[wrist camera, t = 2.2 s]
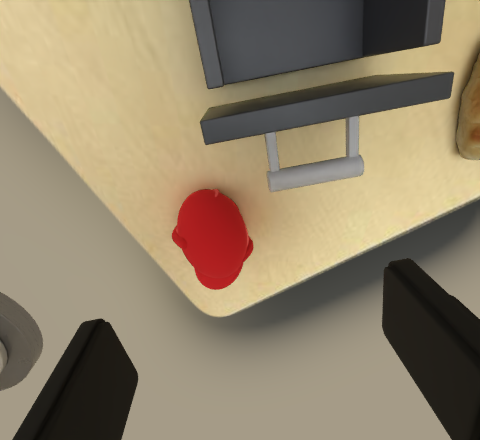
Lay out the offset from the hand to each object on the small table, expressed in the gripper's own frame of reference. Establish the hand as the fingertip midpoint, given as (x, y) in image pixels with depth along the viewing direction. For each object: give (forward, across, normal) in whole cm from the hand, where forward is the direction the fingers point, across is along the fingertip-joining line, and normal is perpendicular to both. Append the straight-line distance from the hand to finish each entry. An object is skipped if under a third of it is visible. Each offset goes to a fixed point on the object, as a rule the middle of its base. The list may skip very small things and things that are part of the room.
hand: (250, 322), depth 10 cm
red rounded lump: (+16, +3, +4) cm, 17 cm away
